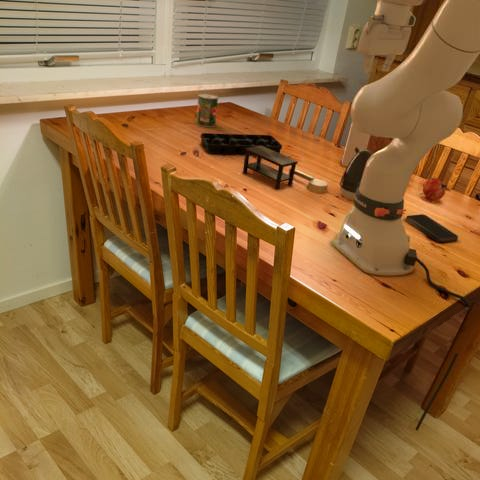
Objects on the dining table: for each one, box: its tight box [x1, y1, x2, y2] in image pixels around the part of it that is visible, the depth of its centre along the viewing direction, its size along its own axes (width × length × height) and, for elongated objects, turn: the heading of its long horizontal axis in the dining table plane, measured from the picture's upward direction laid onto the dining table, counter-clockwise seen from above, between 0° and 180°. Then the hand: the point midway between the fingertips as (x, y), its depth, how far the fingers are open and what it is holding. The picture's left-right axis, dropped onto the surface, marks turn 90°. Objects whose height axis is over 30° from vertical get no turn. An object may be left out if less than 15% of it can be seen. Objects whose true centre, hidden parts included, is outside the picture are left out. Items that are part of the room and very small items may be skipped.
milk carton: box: [341, 121, 371, 168], centre depth 174 cm, size 7×7×19 cm
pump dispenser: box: [339, 148, 373, 202], centre depth 149 cm, size 10×10×15 cm
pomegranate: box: [421, 177, 448, 202], centre depth 160 cm, size 7×7×10 cm
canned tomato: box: [195, 92, 219, 128], centre depth 194 cm, size 8×8×11 cm
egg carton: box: [199, 132, 283, 156], centre depth 177 cm, size 18×30×4 cm, turn 120°
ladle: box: [287, 167, 329, 194], centre depth 157 cm, size 15×6×3 cm, turn 45°
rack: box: [242, 145, 298, 190], centre depth 155 cm, size 16×8×8 cm, turn 45°
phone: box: [405, 213, 459, 244], centre depth 141 cm, size 8×1×15 cm
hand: (375, 72), depth 139 cm, fingers open, 8 cm apart
